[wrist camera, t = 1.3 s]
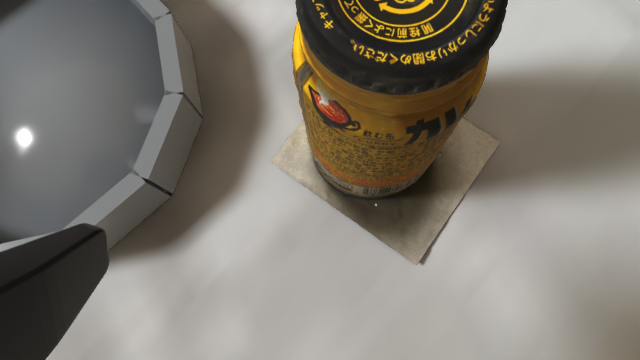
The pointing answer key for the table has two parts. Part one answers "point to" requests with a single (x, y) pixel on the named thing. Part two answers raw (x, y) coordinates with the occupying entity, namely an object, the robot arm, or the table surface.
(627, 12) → the table surface
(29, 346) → the robot arm
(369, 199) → the condiment
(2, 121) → the round grey tray
